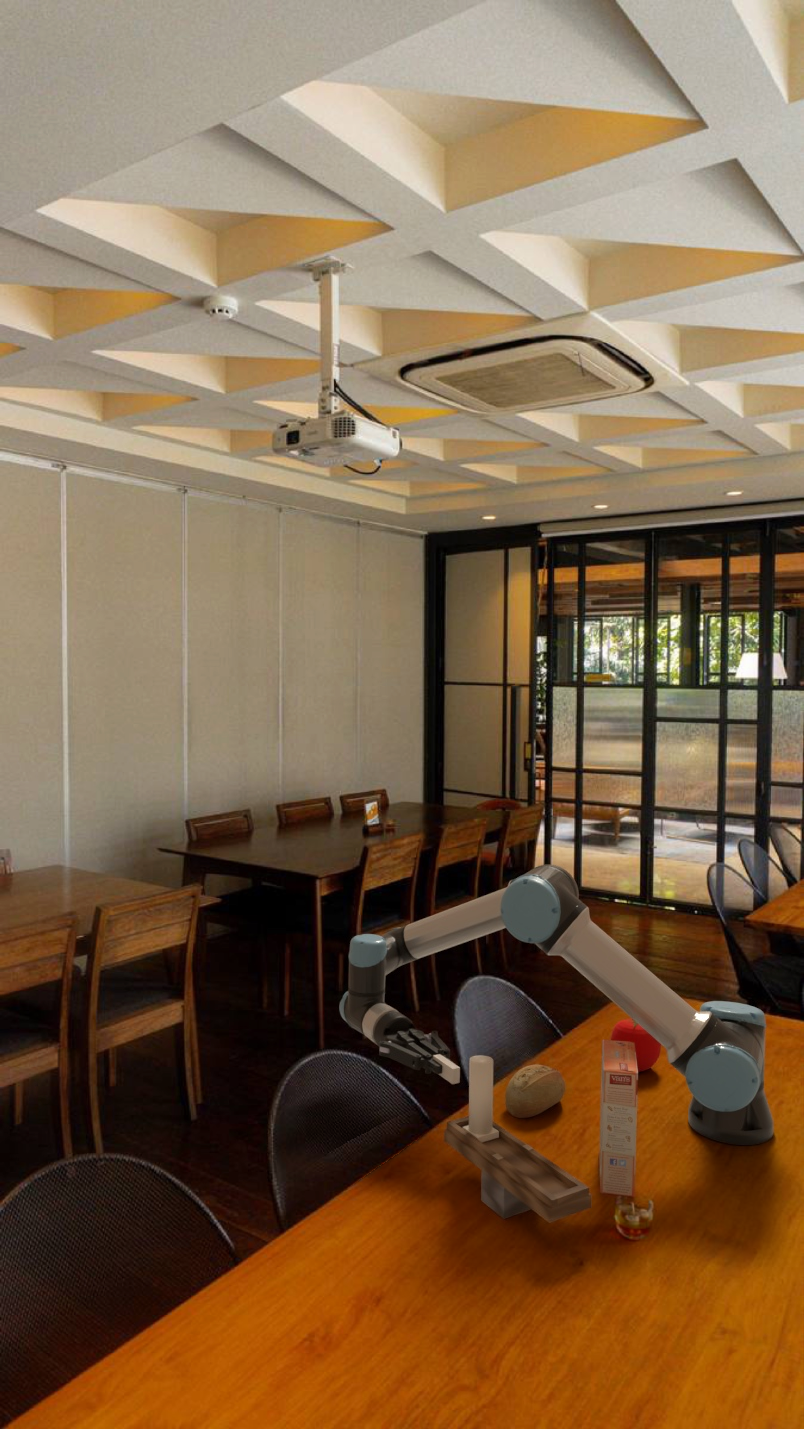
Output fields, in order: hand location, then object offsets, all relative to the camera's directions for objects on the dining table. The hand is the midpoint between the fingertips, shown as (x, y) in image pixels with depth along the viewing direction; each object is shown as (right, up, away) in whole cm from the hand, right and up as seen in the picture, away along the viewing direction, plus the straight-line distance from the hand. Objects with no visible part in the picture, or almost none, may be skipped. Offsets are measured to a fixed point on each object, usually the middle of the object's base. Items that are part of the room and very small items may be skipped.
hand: (456, 1075), depth 165 cm
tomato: (+41, -14, +39) cm, 58 cm away
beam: (+8, -15, -13) cm, 22 cm away
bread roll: (+17, -14, +20) cm, 30 cm away
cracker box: (+27, -15, -4) cm, 32 cm away
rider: (+4, -8, -6) cm, 10 cm away
